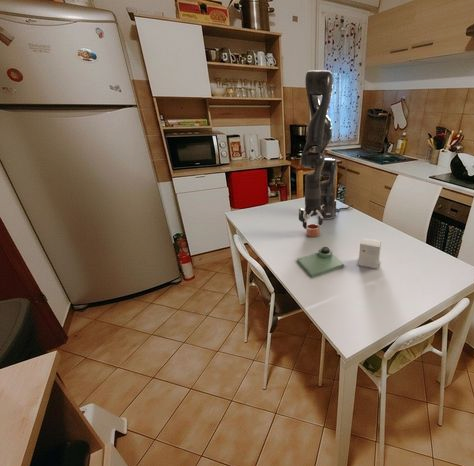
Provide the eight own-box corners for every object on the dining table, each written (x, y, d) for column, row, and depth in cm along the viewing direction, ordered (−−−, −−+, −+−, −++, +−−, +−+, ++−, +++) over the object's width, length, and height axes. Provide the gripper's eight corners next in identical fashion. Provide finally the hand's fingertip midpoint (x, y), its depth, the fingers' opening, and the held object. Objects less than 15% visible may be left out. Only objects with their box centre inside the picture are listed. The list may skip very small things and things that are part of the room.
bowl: (315, 230, 138) (315, 222, 136) (321, 235, 133) (321, 227, 131) (304, 233, 136) (304, 225, 134) (310, 238, 131) (310, 230, 129)
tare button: (326, 249, 116) (326, 246, 116) (330, 252, 114) (330, 249, 113) (320, 251, 115) (320, 247, 114) (324, 254, 112) (324, 251, 112)
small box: (379, 261, 113) (381, 240, 108) (377, 269, 108) (380, 247, 103) (360, 258, 115) (362, 237, 110) (358, 265, 110) (360, 243, 105)
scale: (327, 252, 119) (327, 246, 118) (343, 266, 109) (344, 260, 108) (297, 261, 113) (297, 255, 111) (312, 277, 103) (312, 271, 101)
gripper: (303, 200, 119) (303, 232, 126) (329, 195, 125) (328, 226, 132) (295, 195, 124) (296, 226, 132) (321, 191, 131) (321, 221, 138)
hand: (312, 226), depth 132 cm, fingers open, 8 cm apart
